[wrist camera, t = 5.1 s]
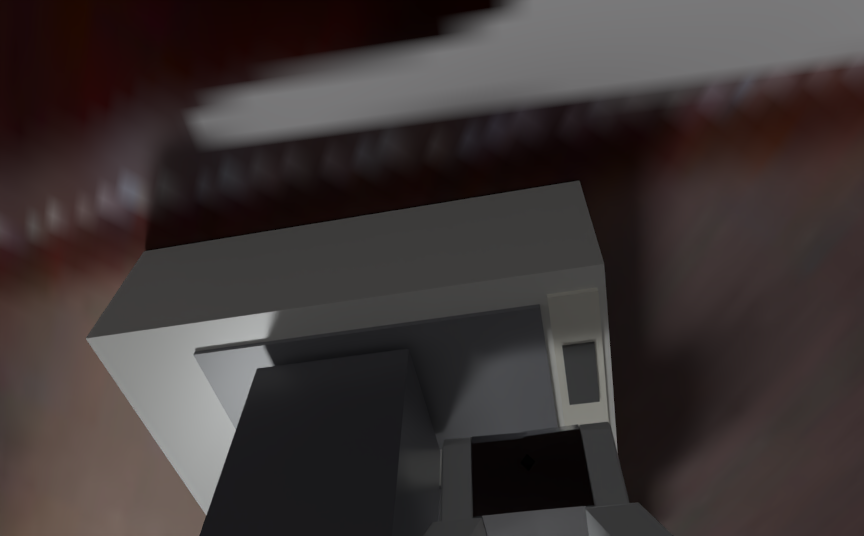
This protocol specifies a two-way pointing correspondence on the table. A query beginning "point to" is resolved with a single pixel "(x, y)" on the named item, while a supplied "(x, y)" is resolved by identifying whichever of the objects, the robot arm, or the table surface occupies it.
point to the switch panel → (372, 319)
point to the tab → (331, 453)
